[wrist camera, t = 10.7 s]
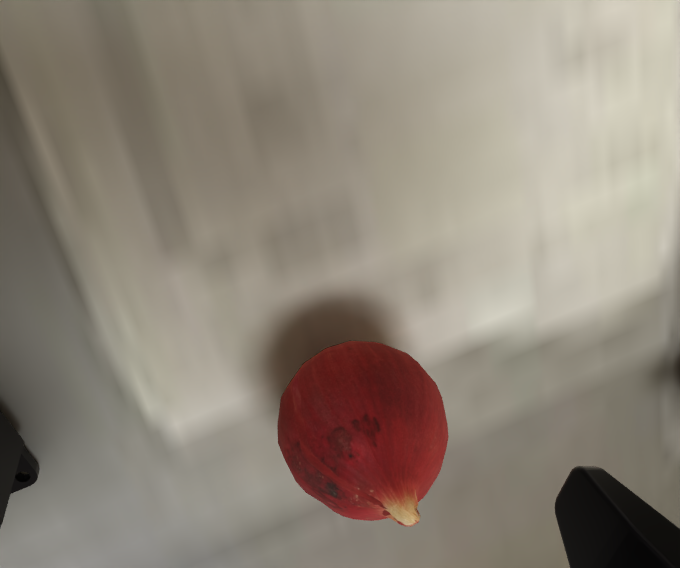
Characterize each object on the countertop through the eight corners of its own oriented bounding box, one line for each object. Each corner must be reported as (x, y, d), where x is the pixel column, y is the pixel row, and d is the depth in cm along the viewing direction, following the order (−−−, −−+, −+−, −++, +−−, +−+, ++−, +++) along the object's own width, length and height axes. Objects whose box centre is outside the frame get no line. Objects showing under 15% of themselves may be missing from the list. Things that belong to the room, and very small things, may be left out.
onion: (259, 428, 26) (295, 601, 19) (270, 303, 24) (315, 451, 17) (394, 419, 28) (472, 577, 21) (417, 301, 25) (514, 436, 18)
